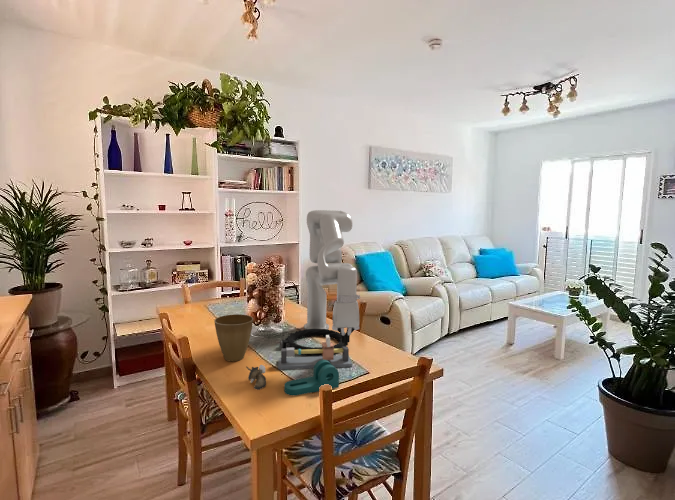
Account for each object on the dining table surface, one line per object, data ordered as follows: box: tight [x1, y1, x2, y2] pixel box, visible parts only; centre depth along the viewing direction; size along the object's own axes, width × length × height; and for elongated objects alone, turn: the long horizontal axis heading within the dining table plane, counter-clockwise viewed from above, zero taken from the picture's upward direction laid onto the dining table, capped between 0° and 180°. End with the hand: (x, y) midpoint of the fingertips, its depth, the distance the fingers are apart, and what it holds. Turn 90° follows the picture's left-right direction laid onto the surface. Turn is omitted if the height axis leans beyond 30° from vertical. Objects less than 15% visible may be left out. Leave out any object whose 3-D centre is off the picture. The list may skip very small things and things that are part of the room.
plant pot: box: [213, 313, 254, 362], centre depth 150 cm, size 15×15×16 cm
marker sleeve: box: [321, 335, 335, 360], centre depth 147 cm, size 5×4×8 cm
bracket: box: [283, 360, 340, 397], centre depth 127 cm, size 18×7×8 cm, turn 114°
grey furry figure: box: [245, 364, 267, 391], centre depth 130 cm, size 8×7×9 cm
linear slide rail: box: [278, 346, 353, 370], centre depth 147 cm, size 8×28×6 cm, turn 98°
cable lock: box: [279, 328, 348, 357], centre depth 167 cm, size 28×4×30 cm
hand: (345, 344), depth 148 cm, fingers closed
